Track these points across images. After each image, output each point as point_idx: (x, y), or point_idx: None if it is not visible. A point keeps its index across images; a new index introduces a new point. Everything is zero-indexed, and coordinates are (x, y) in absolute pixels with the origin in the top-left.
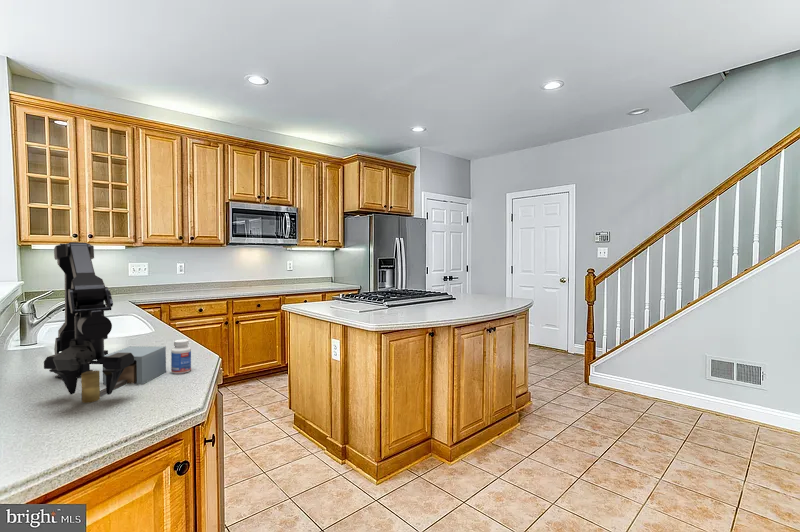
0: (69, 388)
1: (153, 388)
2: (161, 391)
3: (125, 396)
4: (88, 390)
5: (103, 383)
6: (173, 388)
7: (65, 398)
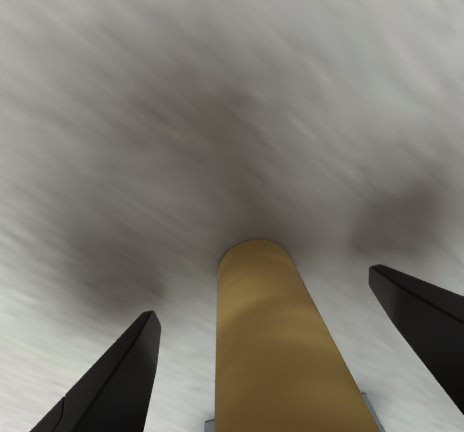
0: (409, 286)
1: None
2: (49, 400)
3: None
4: (239, 296)
5: (365, 397)
6: None
7: (407, 259)
